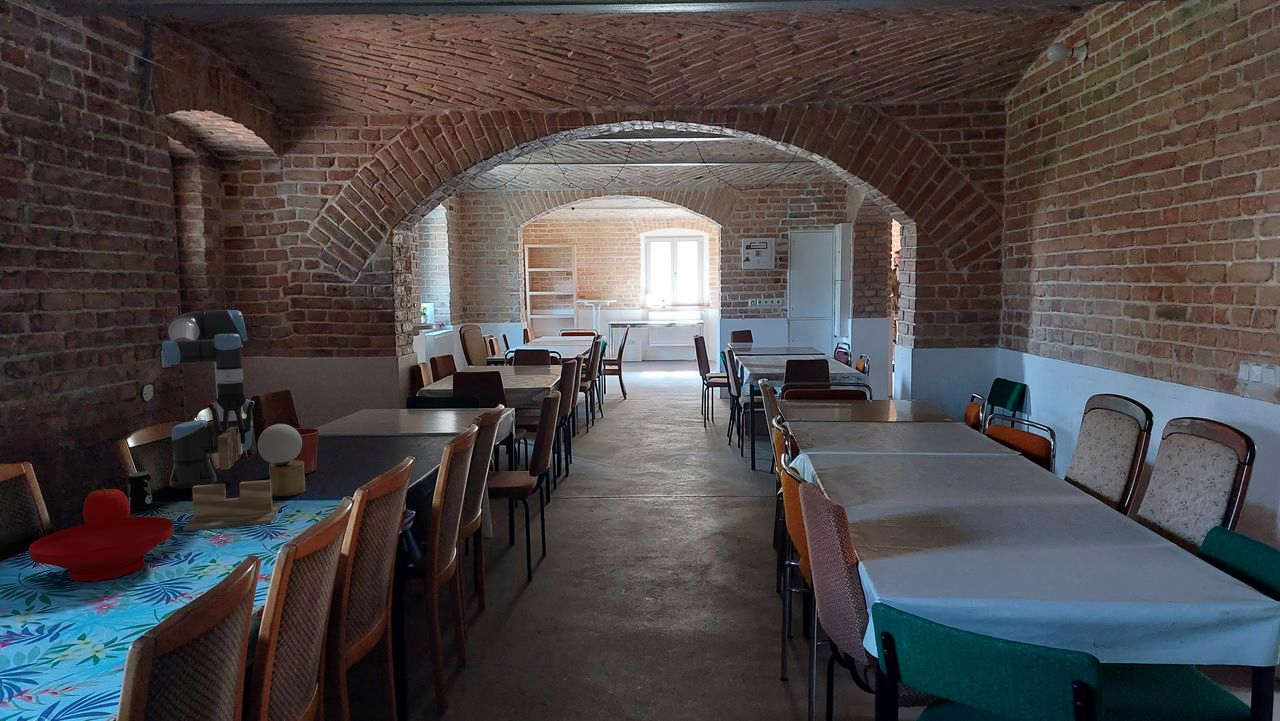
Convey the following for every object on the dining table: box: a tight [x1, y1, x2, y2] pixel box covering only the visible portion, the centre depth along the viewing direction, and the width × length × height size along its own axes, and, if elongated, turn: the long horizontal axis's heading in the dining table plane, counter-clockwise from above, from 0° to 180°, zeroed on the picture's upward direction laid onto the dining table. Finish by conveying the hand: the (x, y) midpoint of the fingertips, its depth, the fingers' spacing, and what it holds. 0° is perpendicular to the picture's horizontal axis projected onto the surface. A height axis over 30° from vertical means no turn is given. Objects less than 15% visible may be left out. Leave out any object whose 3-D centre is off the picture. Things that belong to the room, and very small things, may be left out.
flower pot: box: [293, 427, 321, 475], centre depth 305 cm, size 16×16×16 cm
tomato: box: [82, 487, 131, 524], centre depth 230 cm, size 13×11×14 cm
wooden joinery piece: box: [182, 479, 281, 532], centre depth 244 cm, size 20×24×11 cm
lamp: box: [257, 423, 306, 498], centre depth 271 cm, size 15×14×25 cm
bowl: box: [28, 516, 175, 582], centre depth 199 cm, size 30×30×10 cm
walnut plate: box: [218, 427, 242, 471], centre depth 242 cm, size 18×2×10 cm, turn 17°
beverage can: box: [126, 471, 154, 512], centre depth 256 cm, size 7×7×12 cm
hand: (235, 453), depth 249 cm, fingers closed on walnut plate, 2 cm apart
